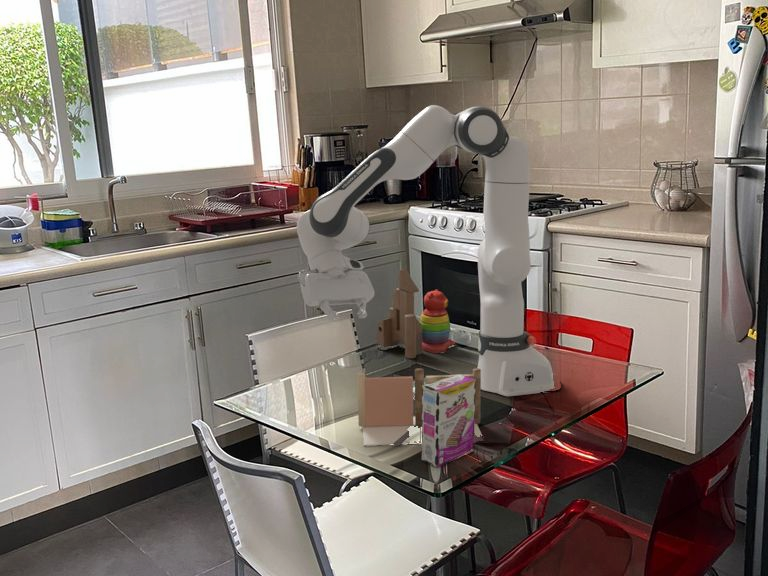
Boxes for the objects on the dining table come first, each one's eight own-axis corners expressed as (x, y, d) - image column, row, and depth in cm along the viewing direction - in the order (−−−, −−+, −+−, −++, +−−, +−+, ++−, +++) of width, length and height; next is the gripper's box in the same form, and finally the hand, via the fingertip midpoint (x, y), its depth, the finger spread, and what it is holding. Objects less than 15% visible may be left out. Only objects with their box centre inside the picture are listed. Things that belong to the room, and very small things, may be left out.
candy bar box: (437, 469, 153) (437, 391, 150) (420, 461, 157) (420, 384, 154) (476, 452, 161) (476, 378, 157) (458, 445, 164) (458, 372, 161)
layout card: (472, 415, 180) (472, 414, 180) (485, 443, 165) (485, 441, 165) (362, 420, 179) (362, 418, 179) (364, 448, 164) (364, 446, 164)
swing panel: (412, 421, 176) (412, 370, 173) (413, 424, 174) (412, 373, 171) (358, 423, 175) (357, 372, 172) (358, 426, 173) (357, 375, 171)
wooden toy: (375, 348, 235) (373, 268, 230) (391, 344, 239) (390, 265, 234) (410, 359, 224) (409, 275, 218) (426, 354, 228) (426, 272, 223)
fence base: (479, 422, 177) (480, 366, 174) (481, 425, 175) (481, 369, 172) (414, 424, 176) (414, 368, 173) (415, 428, 174) (415, 371, 171)
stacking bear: (442, 354, 228) (442, 296, 224) (412, 350, 233) (412, 292, 229) (458, 345, 237) (458, 289, 233) (429, 341, 242) (429, 286, 238)
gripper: (302, 263, 182) (322, 314, 177) (366, 262, 196) (386, 309, 191) (289, 277, 186) (308, 327, 181) (353, 275, 200) (372, 321, 195)
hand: (349, 318), depth 186 cm, fingers open, 8 cm apart
